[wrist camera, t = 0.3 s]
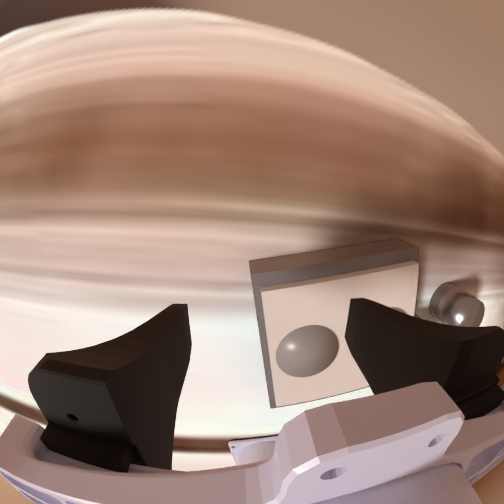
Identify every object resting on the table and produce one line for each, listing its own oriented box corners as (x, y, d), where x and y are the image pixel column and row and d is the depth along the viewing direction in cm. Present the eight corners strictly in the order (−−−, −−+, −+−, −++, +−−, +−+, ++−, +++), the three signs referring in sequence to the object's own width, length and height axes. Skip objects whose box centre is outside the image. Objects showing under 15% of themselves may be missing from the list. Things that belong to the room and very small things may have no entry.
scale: (407, 353, 25) (429, 379, 20) (267, 387, 24) (273, 424, 20) (419, 235, 21) (455, 249, 16) (248, 260, 21) (252, 285, 16)
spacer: (452, 312, 24) (479, 332, 19) (426, 321, 24) (453, 344, 19) (457, 279, 23) (487, 296, 18) (431, 286, 23) (462, 307, 18)
